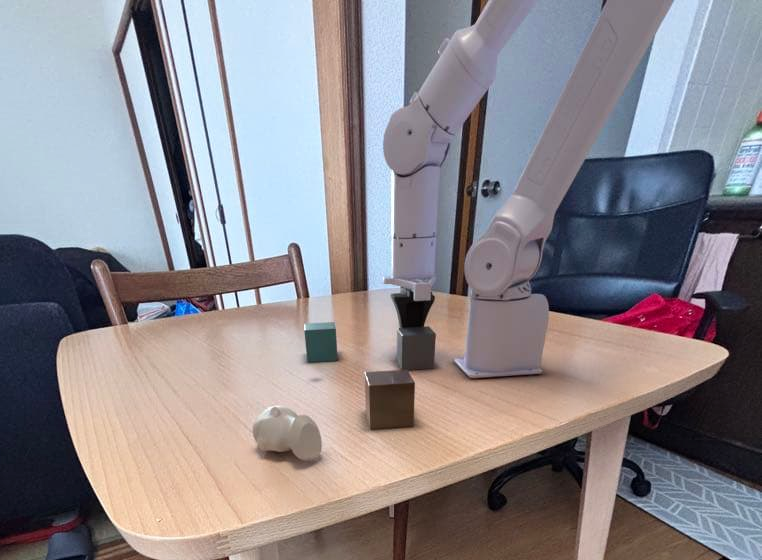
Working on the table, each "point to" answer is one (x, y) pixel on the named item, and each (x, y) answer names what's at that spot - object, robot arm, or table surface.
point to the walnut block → (389, 399)
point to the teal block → (321, 342)
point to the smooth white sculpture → (287, 433)
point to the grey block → (415, 348)
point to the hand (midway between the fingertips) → (410, 347)
